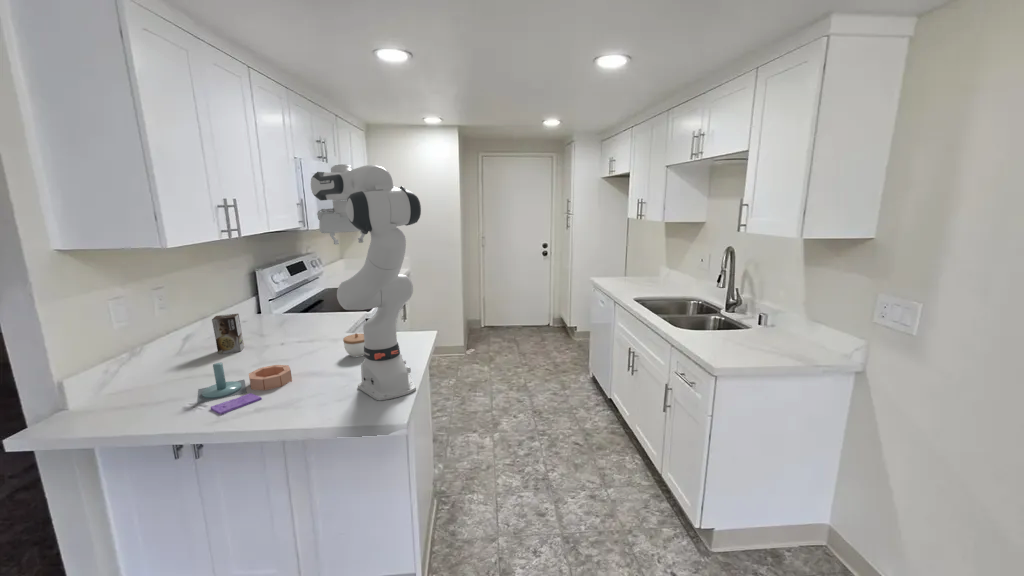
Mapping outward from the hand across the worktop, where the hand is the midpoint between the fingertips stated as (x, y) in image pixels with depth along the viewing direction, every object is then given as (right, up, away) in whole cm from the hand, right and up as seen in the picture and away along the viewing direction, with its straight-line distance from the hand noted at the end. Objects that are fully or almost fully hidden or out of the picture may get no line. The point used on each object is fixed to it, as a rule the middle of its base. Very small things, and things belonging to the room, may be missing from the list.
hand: (348, 243), depth 173 cm
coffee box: (-61, -46, +22) cm, 80 cm away
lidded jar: (-1, -47, +13) cm, 48 cm away
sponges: (-25, -57, -31) cm, 69 cm away
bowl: (-23, -53, -14) cm, 59 cm away
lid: (-37, -54, -21) cm, 68 cm away
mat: (-37, -54, -21) cm, 69 cm away
